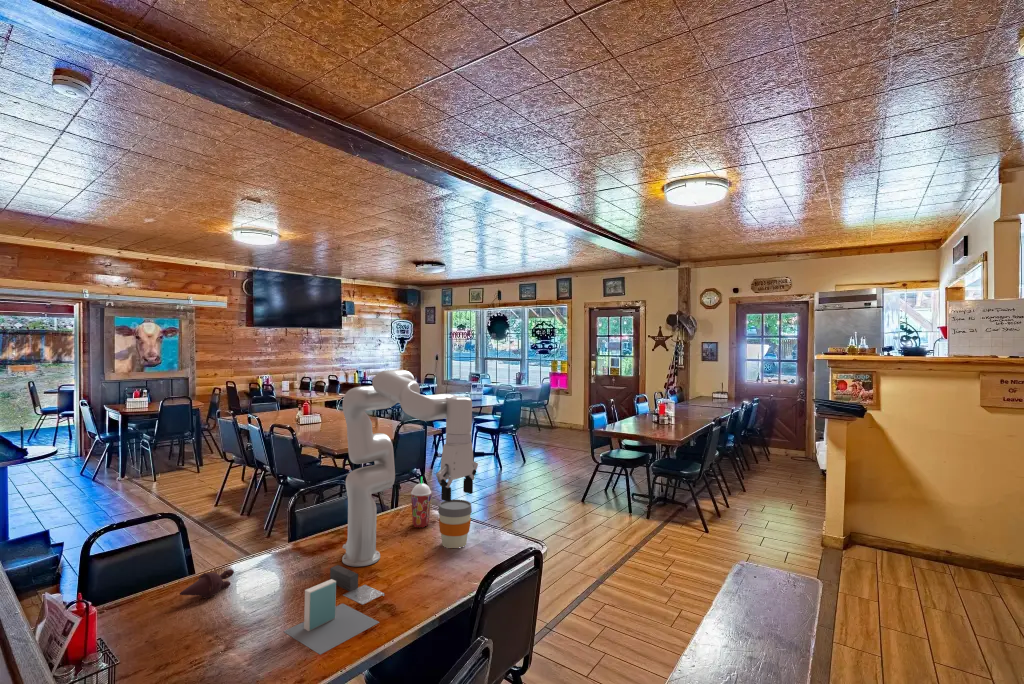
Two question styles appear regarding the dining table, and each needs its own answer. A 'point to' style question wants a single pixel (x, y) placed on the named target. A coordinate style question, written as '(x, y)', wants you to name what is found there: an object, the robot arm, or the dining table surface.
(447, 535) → the reusable coffee cup
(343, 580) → the trowel
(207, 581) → the icecream
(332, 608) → the tile
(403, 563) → the dining table surface
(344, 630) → the mat
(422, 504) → the smoothie
